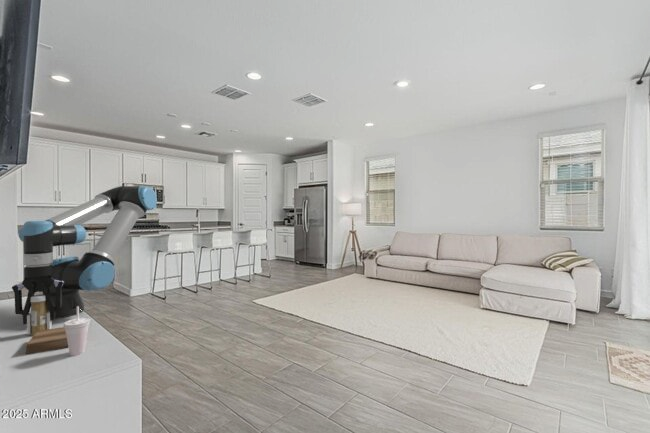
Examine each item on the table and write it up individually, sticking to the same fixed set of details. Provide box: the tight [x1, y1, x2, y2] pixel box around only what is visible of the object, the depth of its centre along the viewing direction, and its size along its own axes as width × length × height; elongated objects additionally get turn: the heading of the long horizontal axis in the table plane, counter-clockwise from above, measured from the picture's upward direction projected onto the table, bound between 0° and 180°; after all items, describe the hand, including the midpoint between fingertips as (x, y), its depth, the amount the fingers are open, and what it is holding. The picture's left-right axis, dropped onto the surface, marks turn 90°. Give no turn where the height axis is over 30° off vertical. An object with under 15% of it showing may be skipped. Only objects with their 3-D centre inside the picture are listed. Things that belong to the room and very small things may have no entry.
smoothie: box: [63, 306, 91, 357], centre depth 95 cm, size 6×6×14 cm
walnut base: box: [25, 327, 68, 355], centre depth 102 cm, size 12×12×3 cm
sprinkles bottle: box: [30, 293, 48, 336], centre depth 109 cm, size 5×5×13 cm
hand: (39, 331), depth 110 cm, fingers closed on sprinkles bottle, 4 cm apart
